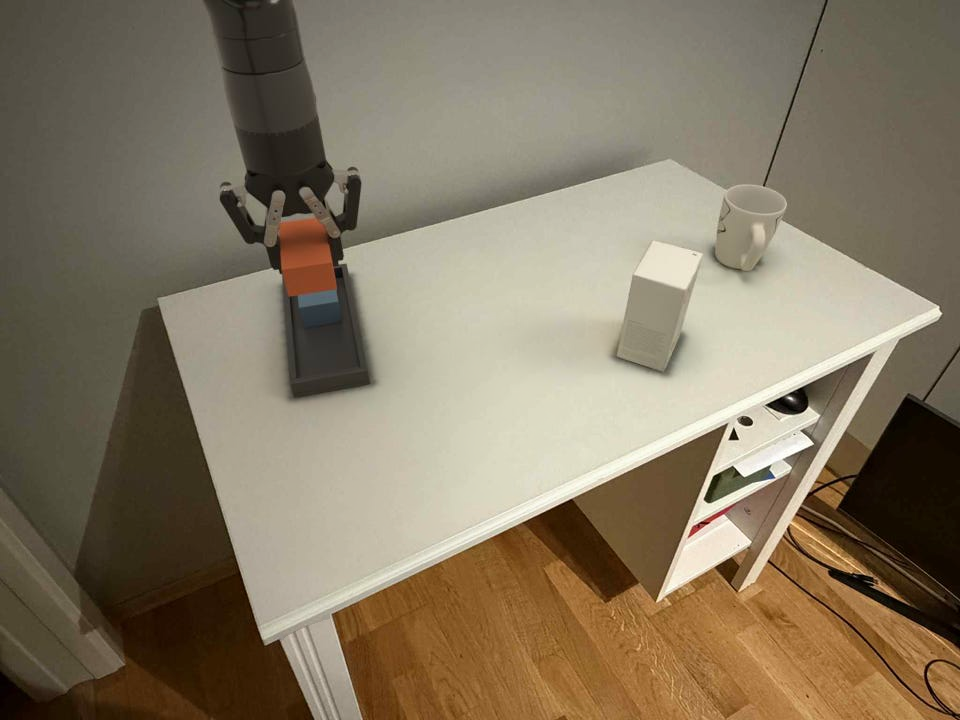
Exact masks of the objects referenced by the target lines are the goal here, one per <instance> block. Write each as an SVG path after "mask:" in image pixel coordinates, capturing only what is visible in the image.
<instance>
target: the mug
mask: <svg viewBox="0 0 960 720" xmlns="http://www.w3.org/2000/svg"><path fill="white" fill-rule="evenodd" d="M787 205H788V204H787V200H786V198H785V197H784V196H783V195H782V194H781V193H779V192H778V191H776V190H774V189H772V188H770V187H766V186H763V185H759V184H758V185H757V184H747V183H746V184H745V183H744V184H736V185H734V186H731V187H729V188H728V189H727V190H726V191H725V192H724V195H723V198H722V203H721V207H720V212H719V216H718V221H717V227H716V239H715V248H714V255H715V257H716V260H717V261H718V262H720V264H722V265H724V266H726V267H728V268H732V269H736V270H742V271H744V272H750V271H752V270H753V269H754V268H755V266H756V265H757V264H758V263H759V261H760V259H761V258H762V256H763V255H764V254H765V252H766V250H767V248H768V246H769V245H770V243H771V241H772V239H773V238H774V236H775V234H776V232H777V230H778V227H779V226H780V223H781V221H782V219H783V217H784V214H785V212H786V210H787Z"/></svg>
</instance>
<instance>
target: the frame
mask: <svg viewBox="0 0 960 720" xmlns="http://www.w3.org/2000/svg"><path fill="white" fill-rule="evenodd" d="M334 274H335V280H336V286H337V295H338V301H339V307H340V312H341V318H342V322H338V323H332V324H326V325H320V326H314V327H308V328H304V326H303V322H302V318H301V314H300V310H299V304H298V295H297V296H290V297H289V296H288V292H287V289H286V285H285V281H284V277H283V274H281V280H282V293H283V294H282V296H283V307H284V308H283V309H284V321H285V322H284V323H285V332H286V333H285V335H286V349H287V350H286V351H287V363H288V364H287V365H288V377H289V379H288V380H289V386H290V389H291V392H292V395H293V398H294V399H295V398H301V397H305V396H311V395H316V394H317V395H318V394H322V393H328V392H333V391H337V390H344V389H348V388H355V387H361V386H366V385H370V384H371V381H370V380H371V379H370V373H369V367H368V363H367V358H366V353H365V349H364V343H363V339H362V338H363V337H362V334H361V327H360V323H359V318H358V313H357V308H356V304H355V303H356V302H355V298H354V293H353V288H352V283H351V279H350V273H349V268H348V264H347V262H346V263H339V266H334Z"/></svg>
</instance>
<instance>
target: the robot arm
mask: <svg viewBox="0 0 960 720" xmlns="http://www.w3.org/2000/svg"><path fill="white" fill-rule="evenodd" d="M199 1H200V3H201V6H202V7H203V10H204V12H205V14H206V17H207V20H208V24H209V28H210V31H211V36H212V40H213V43H214V46H215V50H216V54H217V57H218V61H219V64H220V69H221V73H222V82H223V89H224V94H225V97H226V98H225V99H226V102H227V105H228V109H229V113H230V116H231V120H232V124H233V127H234V130H235V135H236V138H237V141H238V145H239V149H240V153H241V156H242V160H243V164H244V168H245V170H246V171H245V175H244V179H243V180H241V181H238V182H235V183H231V182H229V181H223V182H221V183H220V185H219V202H220V203H221V205H222V207H223V209H224V210H225V212H226V213H227V215H228V217H229V218H230V221H232V223H233V225H234V227H235V228H236V229H237V231H238V233H239V234H240V236H241V238H242V239H243V241H244V242H245V244H247V245H254V244H255V243H258V244H262V245H263V246H264V248H265V249H266V253H267V256H268V260H269V264H270V267H271V269H273V271H278V273H279V275H282V274H283V273H282V269H281V254H280V251H281V250H280V238H279V228H280V222H282V218H289V217H292V216H295V215H297V214H300V215H311V214H313V216H314V218H316V219H317V220H318V221H319V223H320V224H322V225H323V227H324V228H325V230H326V234H327V240H328V244H329V247H330V252H331V258H332V263H333V267H334V266H339V264H340V263H339V262H342V261H344V258H345V254H344V249H343V244H342V237H341V236H342V234H343V233H344V232H346V231H354V230H356V229H357V228H358V227H357V226H358V217H359V211H360V210H359V209H360V200H361V194H362V193H361V192H362V191H361V190H362V178H361V176H360V172H359V169H358V168H357V167H356V166H350V167H347V169H345V170H343V169H334V168H333V166H332V165H331V164H330V163H329V162H328V159H327V157H326V151H325V145H324V139H323V135H322V130H321V129H322V128H321V123H320V119H319V112H318V107H317V96H316V93H315V90H314V85H313V81H312V78H311V74H310V71H309V68H308V64H307V61H306V57H305V51H304V45H303V40H302V36H301V29H300V25H299V18H298V13H297V7H296V2H295V0H199ZM334 183H335V184H337V185H338V188H339V191H340V192H341V193H342V194H343V205H342V213H340V214H338V215H335V213H334V210H333V209H332V208H331V205H329V202H328V200H327V199H326V196H327V194H328V193H329V191H330V189H331V187H332V186H333V184H334ZM247 194H249V195H250V196H252V197H253V198H254V199H255V200H257V201H258V202H259V203H260V204H262V205H263V206H264V207H265V217H264V222H263V225H259V224H256V222H255V221H254V219H253V218H252V216H251V214H250V212H249V210H248V209H247V207H246V205H247Z"/></svg>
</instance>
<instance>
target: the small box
mask: <svg viewBox="0 0 960 720" xmlns="http://www.w3.org/2000/svg"><path fill="white" fill-rule="evenodd" d="M703 257H704V253H702V252H698V251H695V250H692V249H688V248H685V247H681V246H677V245H674V244H669V243H665V242H661V241H657V240H652V241H651V242H650V244H649V245H648V247H647V249H646V251H644V253H643V256H642V257H641V259H640V261H639V263H638V264H637V266H636V267H635V269H634V271H633V273H632V276H631V282H630V287H629V292H628V297H627V302H626V307H625V312H624V317H623V322H622V326H621V333H620V336H619V341H618V346H617V350H616V351H617V352H616V357H617V358H620V359H622V360H626V361H629V362H632V363H634V364H637V365H641V366H643V367H647V368H650V369H652V370H656V371H659V372H665V371H666V369H667V366H668V364H669V361H670V359H671V357H672V355H673V352H674V350H675V348H676V345H677V343H678V341H679V340H680V336H681V332H682V329H683V325H684V322H685V318H686V314H687V311H688V308H689V304H690V301H691V298H692V295H693V291H694V288H695V284H696V282H697V281H696V280H697V277H698V274H699V270H700V267H701V263H702V260H703Z"/></svg>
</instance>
